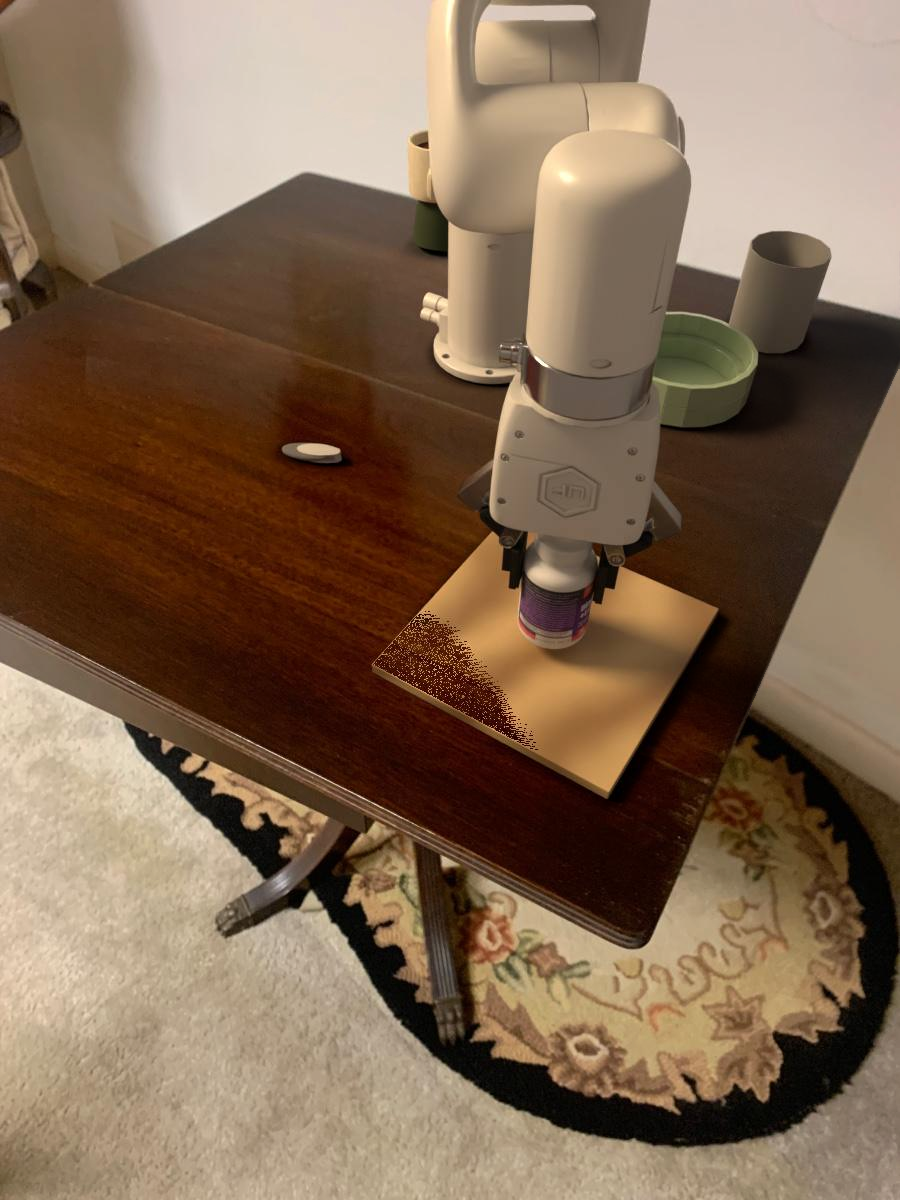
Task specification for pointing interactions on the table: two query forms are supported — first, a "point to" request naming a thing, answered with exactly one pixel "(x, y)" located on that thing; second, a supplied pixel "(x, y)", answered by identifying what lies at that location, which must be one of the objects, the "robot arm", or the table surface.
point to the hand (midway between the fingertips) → (557, 581)
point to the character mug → (425, 196)
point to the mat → (567, 665)
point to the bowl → (702, 370)
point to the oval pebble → (313, 452)
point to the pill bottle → (556, 590)
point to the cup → (779, 289)
